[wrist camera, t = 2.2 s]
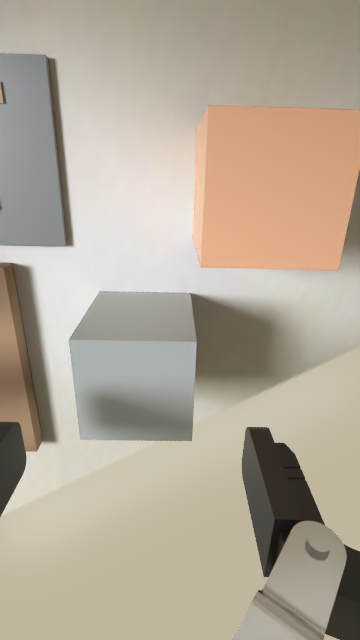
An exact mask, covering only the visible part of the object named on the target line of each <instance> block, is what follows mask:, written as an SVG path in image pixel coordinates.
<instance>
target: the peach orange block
mask: <svg viewBox="0 0 360 640" xmlns="http://www.w3.org/2000/svg"><path fill="white" fill-rule="evenodd" d="M359 170H360V110H350V109H316V108H283V107H249V106H215V105H208V107H207V109H206V111H205V113H204V115H203V117H202V119H201V121H200V123H199V125H198V127H197V136H196V163H195V190H194V217H193V241H194V245H195V248H196V252H197V256H198V259H199V263H200V267H201V268H253V269H305V270H338V269H339V265H340V260H341V255H342V250H343V246H344V241H345V236H346V232H347V227H348V222H349V217H350V213H351V208H352V203H353V198H354V194H355V189H356V184H357V180H358V175H359Z"/></svg>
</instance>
